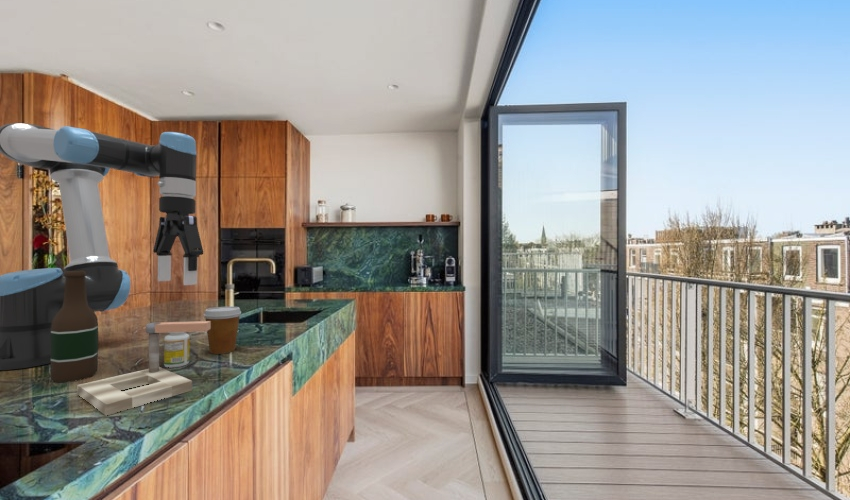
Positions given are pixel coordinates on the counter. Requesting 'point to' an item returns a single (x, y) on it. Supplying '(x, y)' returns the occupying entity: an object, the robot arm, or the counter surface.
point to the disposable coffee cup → (222, 328)
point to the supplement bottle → (176, 349)
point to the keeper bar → (178, 326)
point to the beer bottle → (74, 333)
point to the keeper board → (135, 385)
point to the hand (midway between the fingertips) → (176, 282)
